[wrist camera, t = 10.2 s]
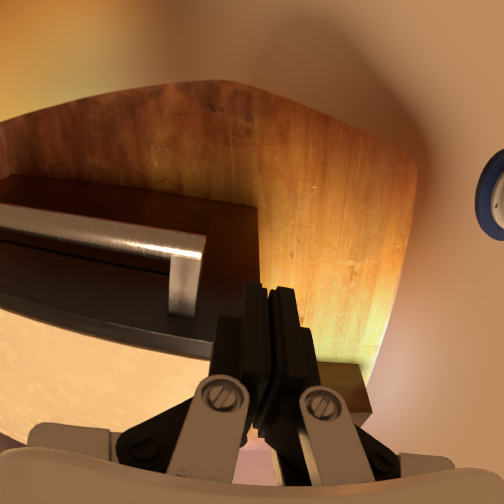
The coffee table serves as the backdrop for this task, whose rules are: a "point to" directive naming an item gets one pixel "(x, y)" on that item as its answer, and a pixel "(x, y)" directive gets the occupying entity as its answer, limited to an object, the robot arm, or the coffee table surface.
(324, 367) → the stand
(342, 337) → the coffee table surface
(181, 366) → the oven
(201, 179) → the coffee table surface
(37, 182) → the oven door
